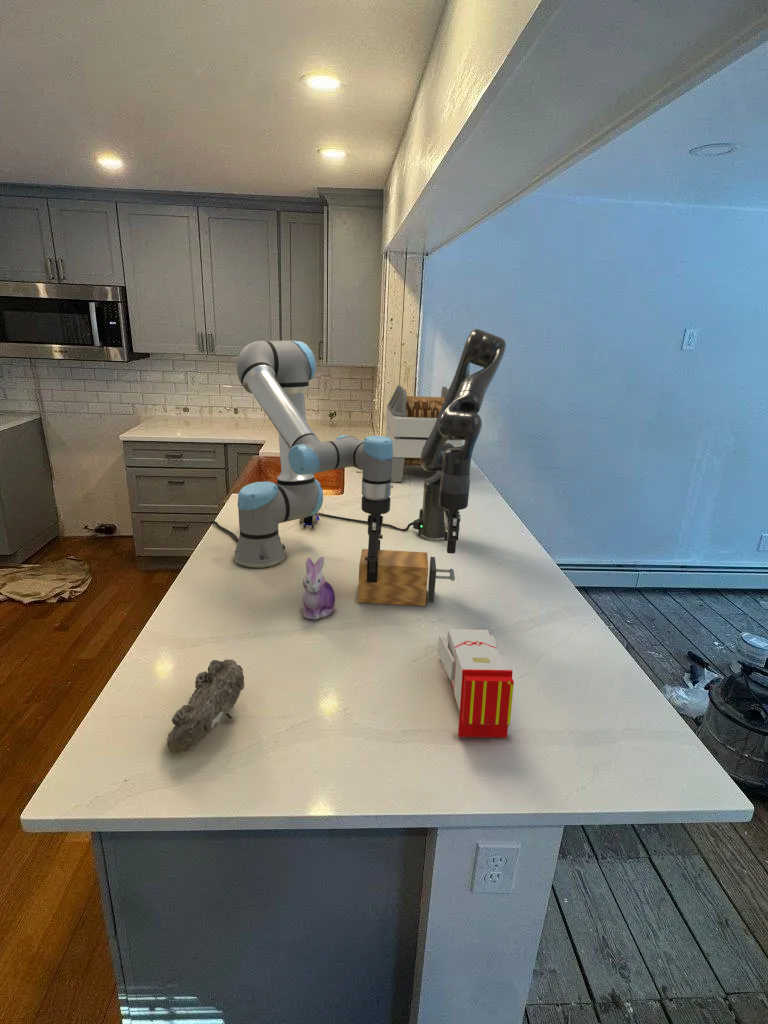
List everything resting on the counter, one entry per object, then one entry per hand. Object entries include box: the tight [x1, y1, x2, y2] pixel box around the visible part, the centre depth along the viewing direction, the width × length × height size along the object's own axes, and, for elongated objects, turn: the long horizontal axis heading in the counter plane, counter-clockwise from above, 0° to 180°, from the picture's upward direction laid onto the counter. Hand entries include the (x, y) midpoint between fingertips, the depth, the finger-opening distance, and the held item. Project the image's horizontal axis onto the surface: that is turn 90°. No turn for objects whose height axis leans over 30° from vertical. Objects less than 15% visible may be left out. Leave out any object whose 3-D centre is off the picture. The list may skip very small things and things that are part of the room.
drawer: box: [427, 556, 456, 603], centre depth 155 cm, size 22×9×10 cm, turn 88°
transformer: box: [385, 384, 464, 483], centre depth 268 cm, size 34×33×41 cm
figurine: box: [302, 556, 336, 621], centre depth 144 cm, size 9×10×15 cm
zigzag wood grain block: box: [357, 548, 429, 607], centre depth 155 cm, size 18×10×11 cm, turn 88°
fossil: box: [166, 658, 245, 754], centre depth 106 cm, size 22×10×15 cm
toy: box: [437, 628, 515, 738], centre depth 117 cm, size 12×13×30 cm
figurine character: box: [298, 512, 320, 530], centre depth 204 cm, size 7×8×15 cm
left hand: (373, 571), depth 155 cm, fingers open, 12 cm apart
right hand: (449, 546), depth 151 cm, fingers open, 8 cm apart
